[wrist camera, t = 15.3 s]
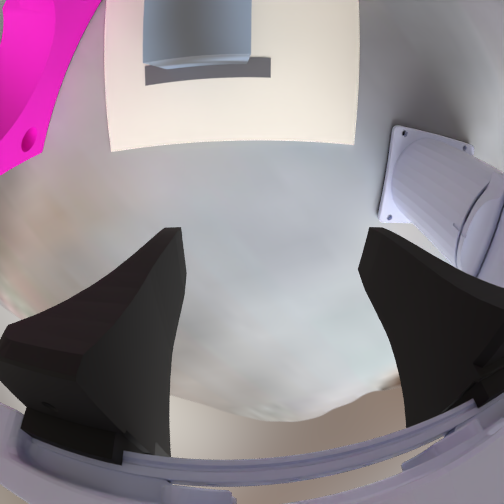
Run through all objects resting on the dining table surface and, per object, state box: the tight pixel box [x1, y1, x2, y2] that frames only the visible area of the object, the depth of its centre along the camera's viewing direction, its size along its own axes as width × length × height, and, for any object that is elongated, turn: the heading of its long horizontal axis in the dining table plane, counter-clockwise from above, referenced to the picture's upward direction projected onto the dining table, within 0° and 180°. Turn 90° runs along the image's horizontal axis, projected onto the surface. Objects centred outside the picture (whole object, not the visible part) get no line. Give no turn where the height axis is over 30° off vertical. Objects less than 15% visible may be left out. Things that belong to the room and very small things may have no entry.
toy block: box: [0, 0, 102, 175], centre depth 8 cm, size 15×6×8 cm, turn 150°
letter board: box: [104, 0, 360, 152], centre depth 13 cm, size 17×16×1 cm
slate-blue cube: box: [143, 0, 252, 69], centre depth 11 cm, size 5×5×5 cm
